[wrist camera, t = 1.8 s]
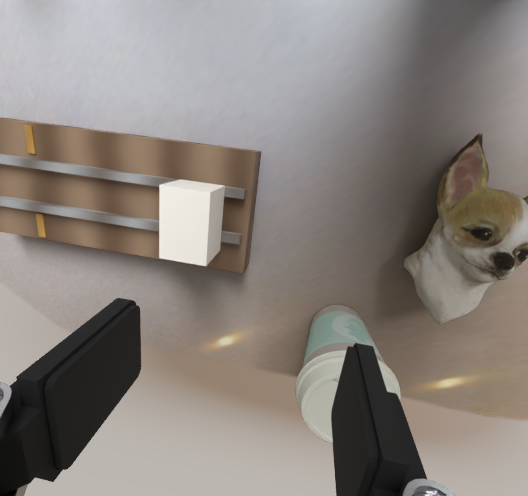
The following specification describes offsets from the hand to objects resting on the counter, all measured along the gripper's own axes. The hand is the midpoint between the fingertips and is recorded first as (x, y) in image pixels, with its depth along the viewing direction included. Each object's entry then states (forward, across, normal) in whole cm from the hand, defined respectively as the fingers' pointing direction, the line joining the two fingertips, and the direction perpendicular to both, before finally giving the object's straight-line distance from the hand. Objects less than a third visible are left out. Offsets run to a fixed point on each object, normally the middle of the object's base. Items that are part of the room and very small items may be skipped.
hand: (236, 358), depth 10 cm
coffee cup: (+23, -8, +12) cm, 27 cm away
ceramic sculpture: (+23, -17, -1) cm, 29 cm away
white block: (+20, +7, 0) cm, 21 cm away
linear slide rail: (+23, +18, 0) cm, 29 cm away
